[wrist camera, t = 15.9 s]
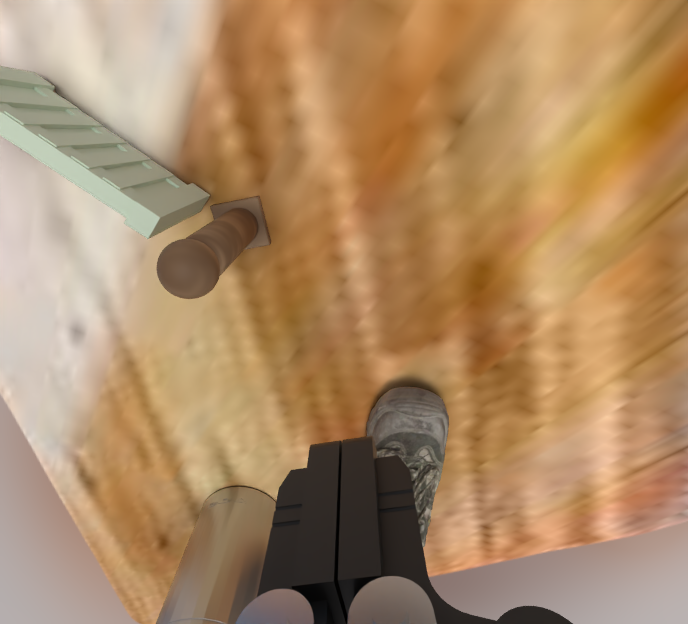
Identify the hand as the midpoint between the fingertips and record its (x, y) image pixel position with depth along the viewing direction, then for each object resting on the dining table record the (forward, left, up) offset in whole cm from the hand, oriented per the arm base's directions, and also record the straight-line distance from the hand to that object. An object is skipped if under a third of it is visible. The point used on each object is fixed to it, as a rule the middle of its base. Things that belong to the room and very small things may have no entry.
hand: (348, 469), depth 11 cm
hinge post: (+2, +9, -29) cm, 30 cm away
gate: (+10, +16, -28) cm, 34 cm away
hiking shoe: (-25, 0, -29) cm, 39 cm away
